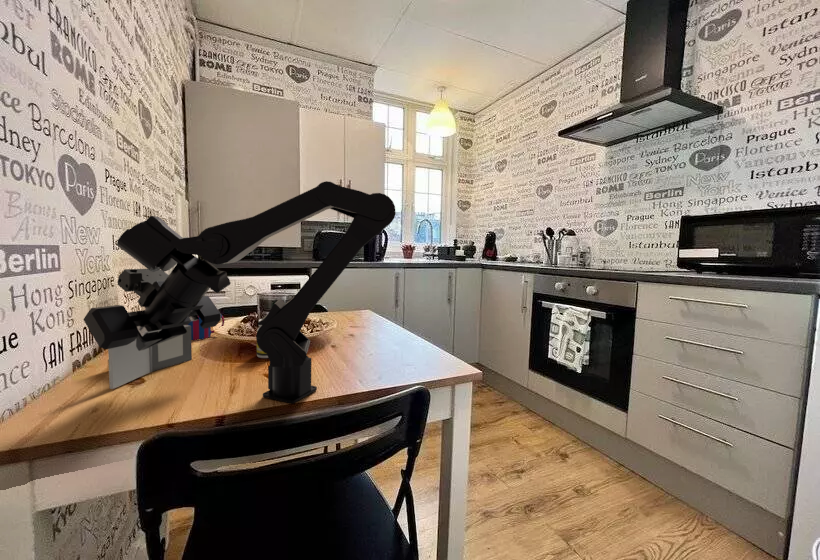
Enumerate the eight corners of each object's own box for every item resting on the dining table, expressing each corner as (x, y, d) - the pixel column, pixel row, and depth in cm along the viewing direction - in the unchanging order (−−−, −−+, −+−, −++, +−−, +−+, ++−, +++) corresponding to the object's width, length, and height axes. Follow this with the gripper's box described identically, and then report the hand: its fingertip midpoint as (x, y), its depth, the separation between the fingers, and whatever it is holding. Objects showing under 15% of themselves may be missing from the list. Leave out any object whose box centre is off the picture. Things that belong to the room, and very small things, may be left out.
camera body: (192, 359, 74) (191, 322, 74) (147, 373, 66) (146, 330, 65) (166, 354, 77) (165, 318, 76) (120, 366, 68) (119, 326, 68)
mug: (186, 335, 95) (185, 310, 94) (226, 333, 98) (226, 310, 97) (178, 341, 88) (177, 315, 88) (221, 339, 92) (221, 314, 91)
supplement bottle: (270, 359, 76) (270, 322, 76) (252, 357, 77) (251, 320, 76) (282, 353, 81) (283, 318, 80) (265, 351, 82) (265, 317, 81)
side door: (147, 370, 66) (146, 330, 65) (153, 371, 66) (152, 330, 65) (107, 388, 57) (105, 342, 57) (114, 388, 57) (112, 342, 57)
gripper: (209, 253, 65) (170, 305, 69) (89, 251, 47) (47, 321, 52) (241, 297, 63) (198, 348, 67) (127, 313, 45) (80, 380, 50)
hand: (139, 348), depth 59 cm, fingers closed
